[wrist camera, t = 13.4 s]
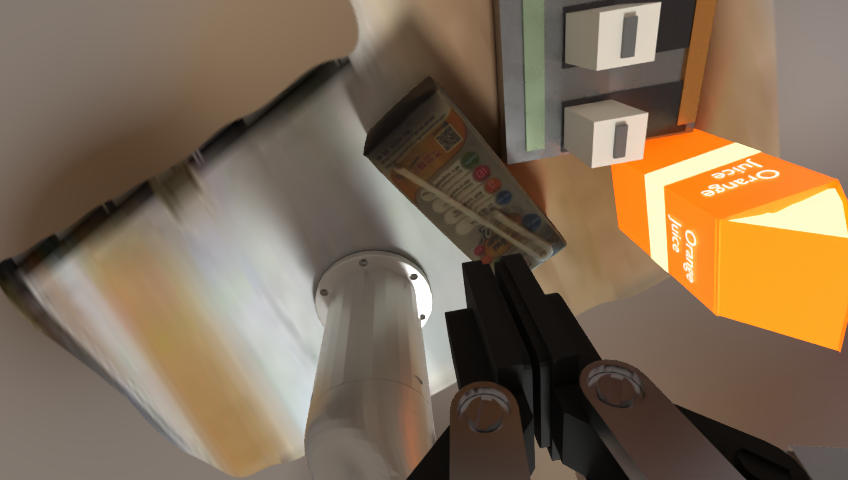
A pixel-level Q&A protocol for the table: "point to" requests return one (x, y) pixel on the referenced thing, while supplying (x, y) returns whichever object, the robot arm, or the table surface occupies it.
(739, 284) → the orange juice
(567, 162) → the table surface
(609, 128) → the breaker
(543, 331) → the robot arm
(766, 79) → the table surface
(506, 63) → the panel
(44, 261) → the table surface
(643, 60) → the breaker mid
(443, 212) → the beverage carton
